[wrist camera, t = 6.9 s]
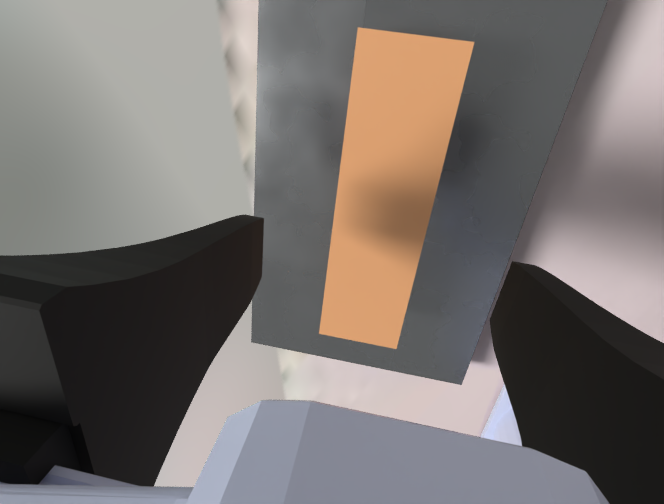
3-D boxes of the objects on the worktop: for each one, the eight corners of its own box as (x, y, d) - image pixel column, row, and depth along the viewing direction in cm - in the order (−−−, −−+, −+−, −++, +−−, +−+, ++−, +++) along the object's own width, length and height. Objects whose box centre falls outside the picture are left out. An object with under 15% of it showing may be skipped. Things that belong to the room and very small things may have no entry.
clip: (397, 288, 21) (396, 349, 17) (335, 277, 22) (318, 333, 17) (454, 45, 16) (474, 42, 11) (370, 34, 16) (357, 27, 12)
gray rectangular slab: (456, 359, 23) (461, 384, 21) (262, 321, 24) (251, 342, 22) (607, -63, 14) (638, -81, 12) (278, -96, 15) (261, -117, 13)
